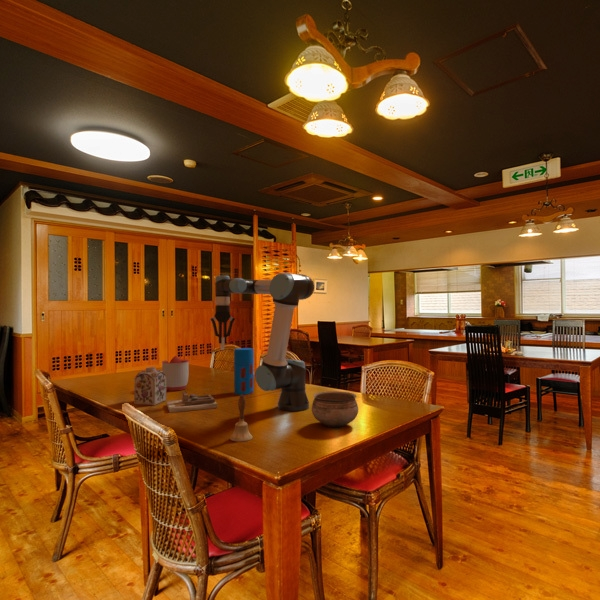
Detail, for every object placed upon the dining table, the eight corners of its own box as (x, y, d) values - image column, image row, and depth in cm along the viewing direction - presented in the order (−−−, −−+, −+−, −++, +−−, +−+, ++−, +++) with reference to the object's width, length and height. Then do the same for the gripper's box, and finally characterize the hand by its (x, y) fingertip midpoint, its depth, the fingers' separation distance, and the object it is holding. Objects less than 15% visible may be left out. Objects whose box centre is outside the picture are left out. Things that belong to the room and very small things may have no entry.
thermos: (257, 392, 229) (257, 348, 229) (245, 395, 220) (245, 350, 220) (242, 390, 235) (242, 347, 235) (230, 393, 225) (230, 349, 226)
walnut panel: (214, 402, 194) (214, 393, 194) (185, 405, 188) (185, 395, 188) (210, 397, 205) (210, 388, 205) (182, 400, 199) (182, 391, 199)
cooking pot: (337, 438, 146) (336, 404, 147) (297, 428, 158) (297, 397, 159) (370, 422, 166) (370, 393, 166) (333, 415, 178) (333, 388, 178)
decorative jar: (154, 405, 198) (154, 369, 198) (133, 404, 200) (133, 368, 200) (167, 400, 209) (167, 366, 210) (147, 399, 212) (147, 365, 212)
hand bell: (253, 434, 151) (253, 392, 151) (251, 441, 143) (251, 397, 143) (231, 434, 151) (231, 392, 151) (228, 442, 142) (228, 397, 143)
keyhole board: (217, 408, 192) (217, 397, 192) (169, 412, 184) (169, 401, 184) (211, 401, 207) (211, 391, 207) (166, 405, 198) (166, 394, 198)
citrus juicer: (181, 385, 251) (181, 353, 251) (193, 389, 238) (193, 355, 238) (156, 388, 241) (156, 355, 241) (167, 393, 227) (167, 358, 228)
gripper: (233, 305, 217) (233, 348, 216) (208, 305, 211) (208, 349, 211) (236, 304, 210) (236, 349, 209) (211, 304, 205) (211, 350, 204)
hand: (222, 349), depth 210 cm, fingers closed
